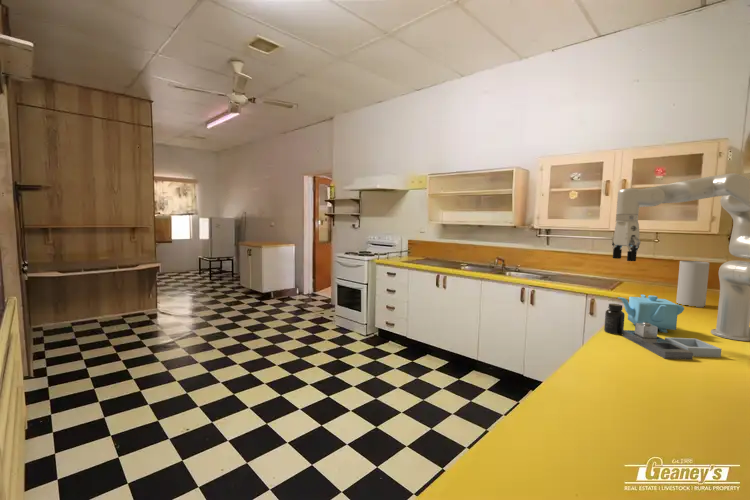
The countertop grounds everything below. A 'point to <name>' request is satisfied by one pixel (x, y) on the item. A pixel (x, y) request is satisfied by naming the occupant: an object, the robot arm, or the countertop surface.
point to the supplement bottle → (614, 319)
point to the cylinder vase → (692, 283)
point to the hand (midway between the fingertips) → (623, 259)
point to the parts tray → (696, 347)
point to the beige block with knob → (646, 330)
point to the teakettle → (653, 311)
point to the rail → (659, 346)
